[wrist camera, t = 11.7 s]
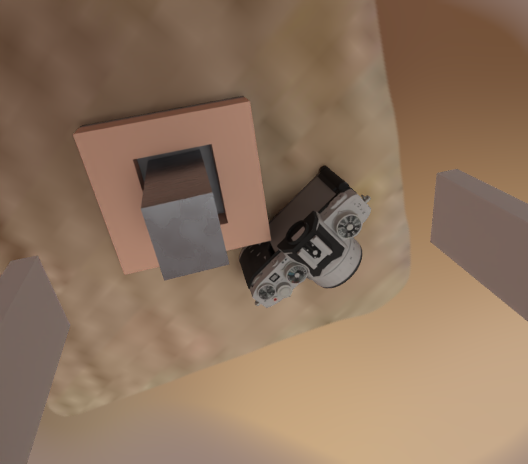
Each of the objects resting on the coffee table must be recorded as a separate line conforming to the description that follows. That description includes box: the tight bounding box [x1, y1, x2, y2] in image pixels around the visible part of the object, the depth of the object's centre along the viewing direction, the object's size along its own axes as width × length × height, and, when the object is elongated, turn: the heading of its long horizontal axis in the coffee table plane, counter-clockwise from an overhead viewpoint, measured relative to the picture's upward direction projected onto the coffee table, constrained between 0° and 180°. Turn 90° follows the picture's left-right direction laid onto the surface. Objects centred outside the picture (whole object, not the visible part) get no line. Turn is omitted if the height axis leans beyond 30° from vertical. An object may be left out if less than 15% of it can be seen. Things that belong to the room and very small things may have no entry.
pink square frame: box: [73, 96, 271, 275], centre depth 39 cm, size 14×15×4 cm
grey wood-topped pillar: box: [141, 149, 229, 280], centre depth 34 cm, size 6×5×12 cm
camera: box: [239, 166, 371, 308], centre depth 41 cm, size 16×9×10 cm, turn 135°
